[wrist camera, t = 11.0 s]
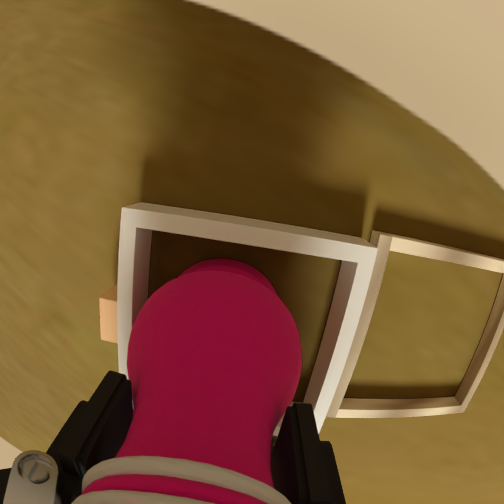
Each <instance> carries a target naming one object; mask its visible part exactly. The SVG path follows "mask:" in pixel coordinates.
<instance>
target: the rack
mask: <svg viewBox="0 0 504 504" xmlns="http://www.w3.org/2000/svg"><path fill="white" fill-rule="evenodd" d="M152 230H157V231H163V232H170V233H176V234H183V235H189V236H195V237H202V238H208V239H214V240H220V241H227V242H233V243H239V244H246V245H252V246H258V247H264V248H270V249H277V250H283V251H289V252H295V253H301V254H307V255H314V256H320V257H326V258H332V259H338V260H342V263H341V267H340V271H339V276H338V280H337V284H336V288H335V292H334V296H333V300H332V304H331V308H330V312H329V316H328V319H327V323H326V327H325V330H324V334H323V338H322V341H321V345H320V348H319V352H318V355H317V359H316V362H315V365H314V369H313V372H312V375H311V378H310V382H309V385H308V388H307V391H306V394H305V397H304V400H303V403H309V404H312V407H313V412H314V416H315V421H316V425H317V430H318V434H319V432H320V430H321V427H322V425H323V422H324V420H325V417H326V415H327V412H328V410H329V407H330V404H331V402H332V399H333V396H334V394H335V391H336V388H337V386H338V383H339V380H340V377H341V374H342V372H343V369H344V366H345V363H346V360H347V357H348V354H349V351H350V348H351V345H352V342H353V338H354V335H355V332H356V329H357V325H358V322H359V319H360V315H361V312H362V308H363V305H364V301H365V298H366V294H367V290H368V287H369V283H370V279H371V275H372V271H373V267H374V263H375V259H376V255H377V251H378V248H377V247H375V246H374V245H372V244H371V243H369V242H367V241H366V240H364V239H363V238H360V237H355V236H350V235H344V234H339V233H333V232H328V231H322V230H316V229H311V228H305V227H299V226H293V225H287V224H282V223H276V222H269V221H263V220H257V219H251V218H245V217H238V216H232V215H226V214H219V213H213V212H206V211H199V210H192V209H185V208H179V207H172V206H164V205H157V204H150V203H142V202H140V203H136V204H133V205H129V206H125V207H122V212H121V224H120V239H119V257H118V283H117V284H116V285H114V286H113V287H112V288H111V289H110V290H108V291H107V292H106V293H105V294H104V295H102V296H101V297H100V328H101V339H102V340H106V341H110V342H113V343H117V344H118V359H119V373H121V374H125V375H126V377H127V379H128V380H129V378H128V371H127V352H128V343H129V338H130V334H131V330H132V326H133V324H134V322H135V320H136V318H137V316H138V314H139V312H140V310H141V309H142V307H143V305H144V304H145V302H146V301H147V298H148V280H149V265H150V251H151V239H152ZM132 401H133V400H132ZM294 403H301V402H291V403H290V405H289V406H293V404H294ZM284 415H285V413H284ZM284 415H283V416H282V418H281V420H280V421H279V423H278V425H277V427H276V429H275V431H274V433H273V436H278V434H279V431H280V428H281V424H282V421H283V418H284Z"/></svg>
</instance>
